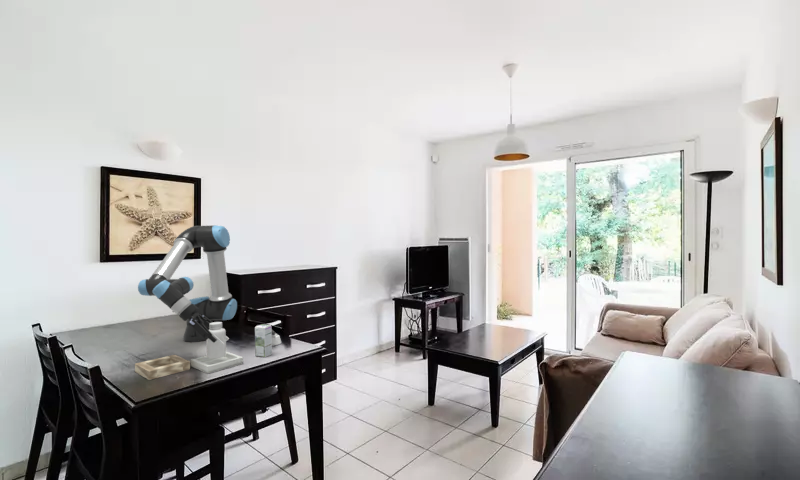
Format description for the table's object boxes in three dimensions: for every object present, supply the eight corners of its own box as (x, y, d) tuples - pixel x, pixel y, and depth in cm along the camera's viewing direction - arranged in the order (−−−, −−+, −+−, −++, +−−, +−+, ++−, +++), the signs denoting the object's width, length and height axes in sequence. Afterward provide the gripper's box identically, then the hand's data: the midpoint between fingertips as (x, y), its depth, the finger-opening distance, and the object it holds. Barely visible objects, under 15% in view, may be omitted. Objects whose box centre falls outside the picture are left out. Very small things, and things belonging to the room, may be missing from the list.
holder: (174, 362, 183) (174, 354, 183) (190, 369, 173) (189, 361, 173) (135, 371, 170) (134, 363, 170) (149, 380, 160) (148, 371, 160)
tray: (225, 357, 189) (225, 351, 189) (243, 363, 179) (243, 357, 179) (190, 366, 177) (190, 359, 177) (207, 373, 167) (207, 366, 167)
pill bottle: (210, 353, 181) (210, 321, 181) (228, 353, 182) (228, 320, 182) (203, 359, 173) (203, 325, 173) (222, 358, 174) (222, 324, 174)
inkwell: (282, 340, 218) (281, 322, 218) (279, 350, 200) (279, 330, 200) (264, 341, 216) (264, 323, 216) (260, 351, 198) (260, 331, 198)
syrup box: (272, 354, 194) (272, 324, 193) (264, 357, 188) (264, 327, 188) (262, 353, 196) (262, 323, 195) (254, 356, 190) (254, 326, 190)
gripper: (187, 311, 185) (224, 343, 188) (169, 320, 164) (211, 356, 167) (199, 299, 186) (235, 331, 189) (183, 307, 165) (224, 343, 168)
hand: (224, 343), depth 178 cm, fingers closed on pill bottle, 8 cm apart
